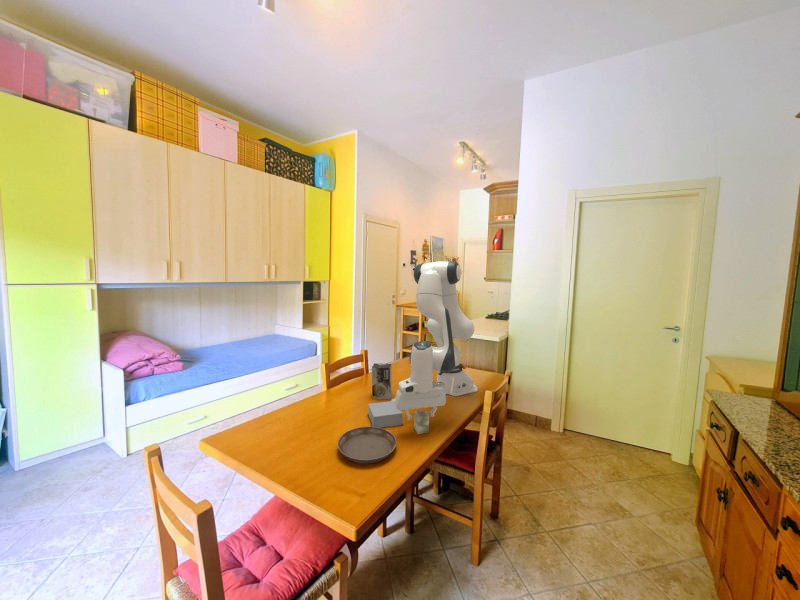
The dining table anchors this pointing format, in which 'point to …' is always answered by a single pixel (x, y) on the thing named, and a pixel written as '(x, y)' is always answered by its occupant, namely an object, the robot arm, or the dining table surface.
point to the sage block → (421, 421)
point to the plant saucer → (367, 444)
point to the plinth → (385, 414)
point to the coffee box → (381, 381)
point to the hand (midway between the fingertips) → (420, 417)
